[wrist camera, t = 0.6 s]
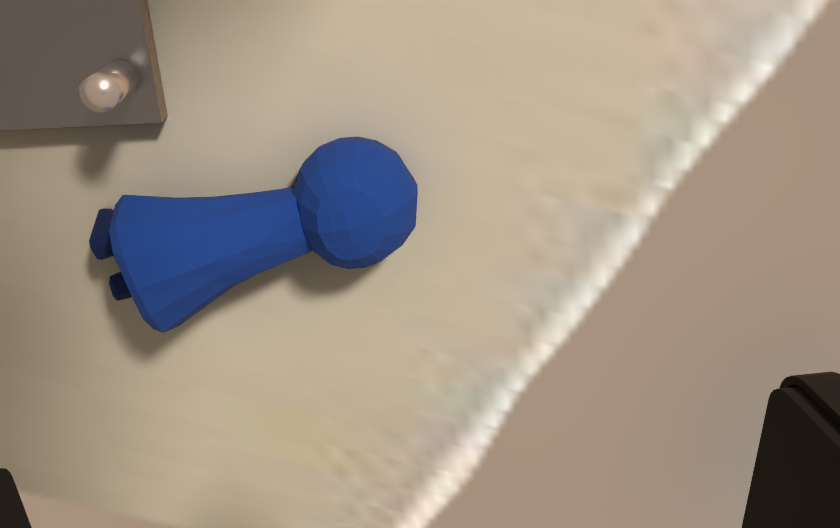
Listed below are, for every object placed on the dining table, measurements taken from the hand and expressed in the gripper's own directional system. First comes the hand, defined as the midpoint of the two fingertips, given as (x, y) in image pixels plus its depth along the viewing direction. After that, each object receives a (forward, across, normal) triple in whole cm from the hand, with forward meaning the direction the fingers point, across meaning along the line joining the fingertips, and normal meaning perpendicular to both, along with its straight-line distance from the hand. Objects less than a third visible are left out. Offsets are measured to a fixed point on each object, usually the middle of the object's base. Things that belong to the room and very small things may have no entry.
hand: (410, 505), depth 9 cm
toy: (+27, +5, +6) cm, 28 cm away
